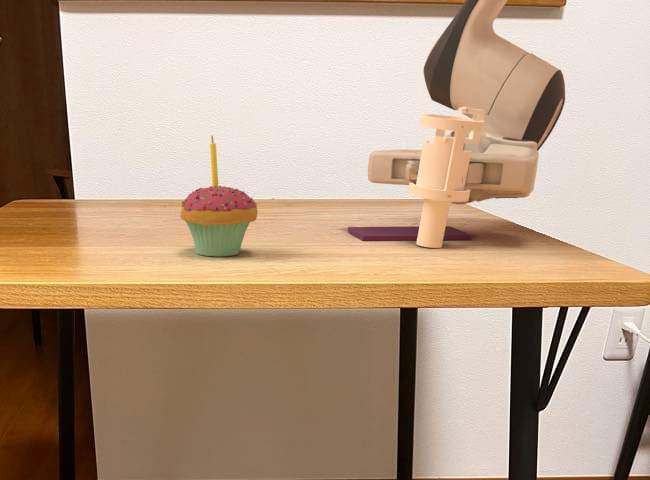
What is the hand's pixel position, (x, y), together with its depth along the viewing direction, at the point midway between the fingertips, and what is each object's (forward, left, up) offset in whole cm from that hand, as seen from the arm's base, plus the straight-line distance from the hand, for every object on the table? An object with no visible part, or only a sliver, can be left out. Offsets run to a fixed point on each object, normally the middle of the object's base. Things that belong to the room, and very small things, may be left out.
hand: (434, 174), depth 101 cm
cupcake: (+19, +17, -8) cm, 27 cm away
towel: (+5, -8, -8) cm, 13 cm away
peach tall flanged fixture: (0, -1, -8) cm, 8 cm away
